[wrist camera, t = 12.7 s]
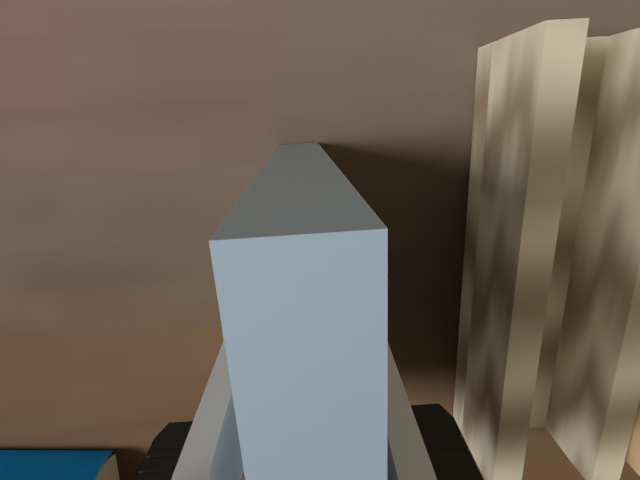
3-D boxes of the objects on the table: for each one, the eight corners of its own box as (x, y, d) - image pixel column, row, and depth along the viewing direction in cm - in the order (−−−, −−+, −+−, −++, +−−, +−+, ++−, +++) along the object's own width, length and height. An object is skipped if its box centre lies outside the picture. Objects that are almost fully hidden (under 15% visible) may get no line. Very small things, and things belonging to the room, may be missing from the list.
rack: (631, 402, 25) (716, 477, 20) (453, 415, 25) (491, 493, 20) (722, 35, 18) (886, 1, 13) (478, 48, 18) (546, 20, 13)
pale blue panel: (330, 371, 24) (387, 820, 9) (298, 373, 24) (298, 830, 8) (317, 142, 19) (387, 228, 4) (278, 144, 19) (207, 240, 4)
